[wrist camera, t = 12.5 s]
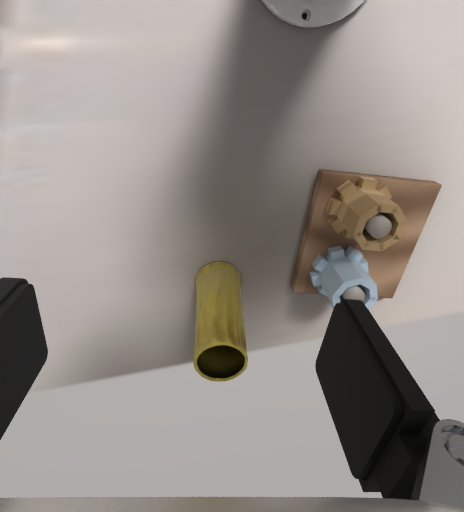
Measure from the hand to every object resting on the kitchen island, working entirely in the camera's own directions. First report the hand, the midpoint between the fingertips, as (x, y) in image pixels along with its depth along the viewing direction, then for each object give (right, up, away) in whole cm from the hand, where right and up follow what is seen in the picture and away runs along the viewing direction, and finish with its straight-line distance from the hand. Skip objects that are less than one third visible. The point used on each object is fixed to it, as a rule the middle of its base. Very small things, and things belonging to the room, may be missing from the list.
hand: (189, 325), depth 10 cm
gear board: (+17, +5, +31) cm, 36 cm away
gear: (+15, 0, +32) cm, 35 cm away
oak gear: (+16, +8, +27) cm, 33 cm away
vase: (-1, -1, +33) cm, 33 cm away
